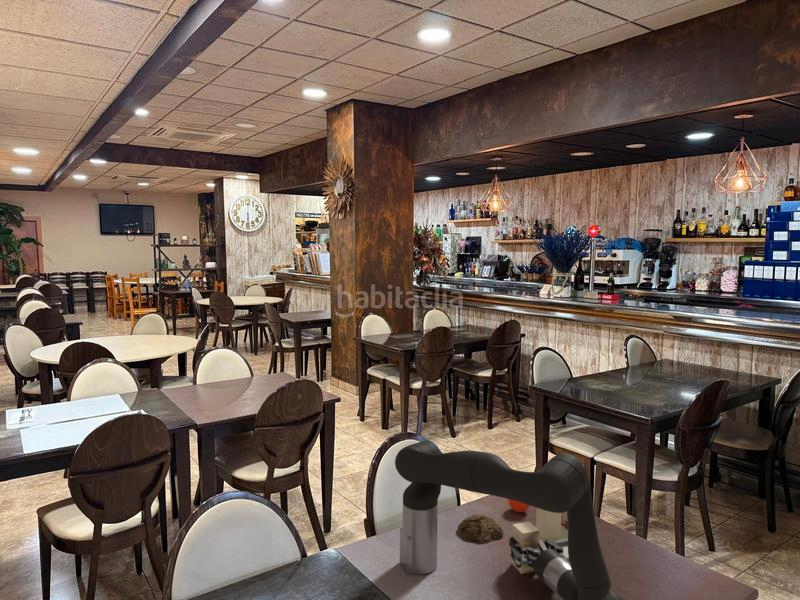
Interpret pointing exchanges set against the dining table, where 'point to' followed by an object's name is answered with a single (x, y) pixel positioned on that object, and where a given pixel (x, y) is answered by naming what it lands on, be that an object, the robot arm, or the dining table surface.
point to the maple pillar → (525, 541)
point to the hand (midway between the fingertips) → (519, 538)
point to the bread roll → (480, 529)
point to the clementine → (518, 506)
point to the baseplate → (552, 529)
